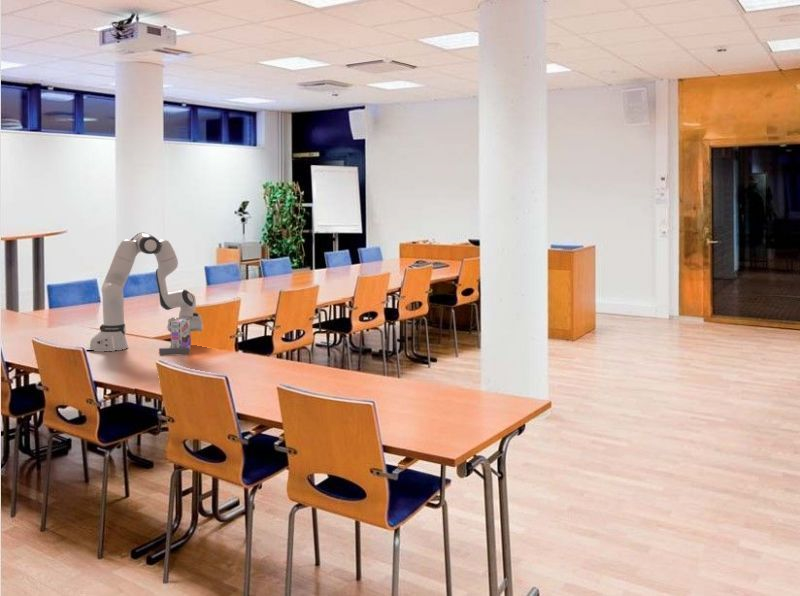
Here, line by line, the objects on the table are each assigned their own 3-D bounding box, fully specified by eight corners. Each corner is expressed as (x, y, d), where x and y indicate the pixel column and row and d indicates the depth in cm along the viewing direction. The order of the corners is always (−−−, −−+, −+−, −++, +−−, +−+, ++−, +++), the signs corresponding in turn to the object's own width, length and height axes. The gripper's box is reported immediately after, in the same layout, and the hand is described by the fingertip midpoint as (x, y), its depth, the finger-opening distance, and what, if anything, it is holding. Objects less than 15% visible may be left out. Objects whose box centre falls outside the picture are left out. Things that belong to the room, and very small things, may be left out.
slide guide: (159, 354, 407) (159, 348, 407) (166, 348, 426) (166, 342, 425) (189, 354, 409) (188, 348, 408) (195, 347, 427) (194, 341, 427)
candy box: (180, 350, 418) (179, 322, 416) (170, 350, 419) (169, 321, 417) (191, 346, 432) (190, 318, 430) (182, 345, 433) (181, 318, 431)
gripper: (167, 314, 441) (164, 333, 432) (202, 314, 443) (200, 333, 434) (169, 320, 446) (166, 339, 437) (204, 320, 448) (202, 339, 439)
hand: (183, 336), depth 436 cm, fingers closed
